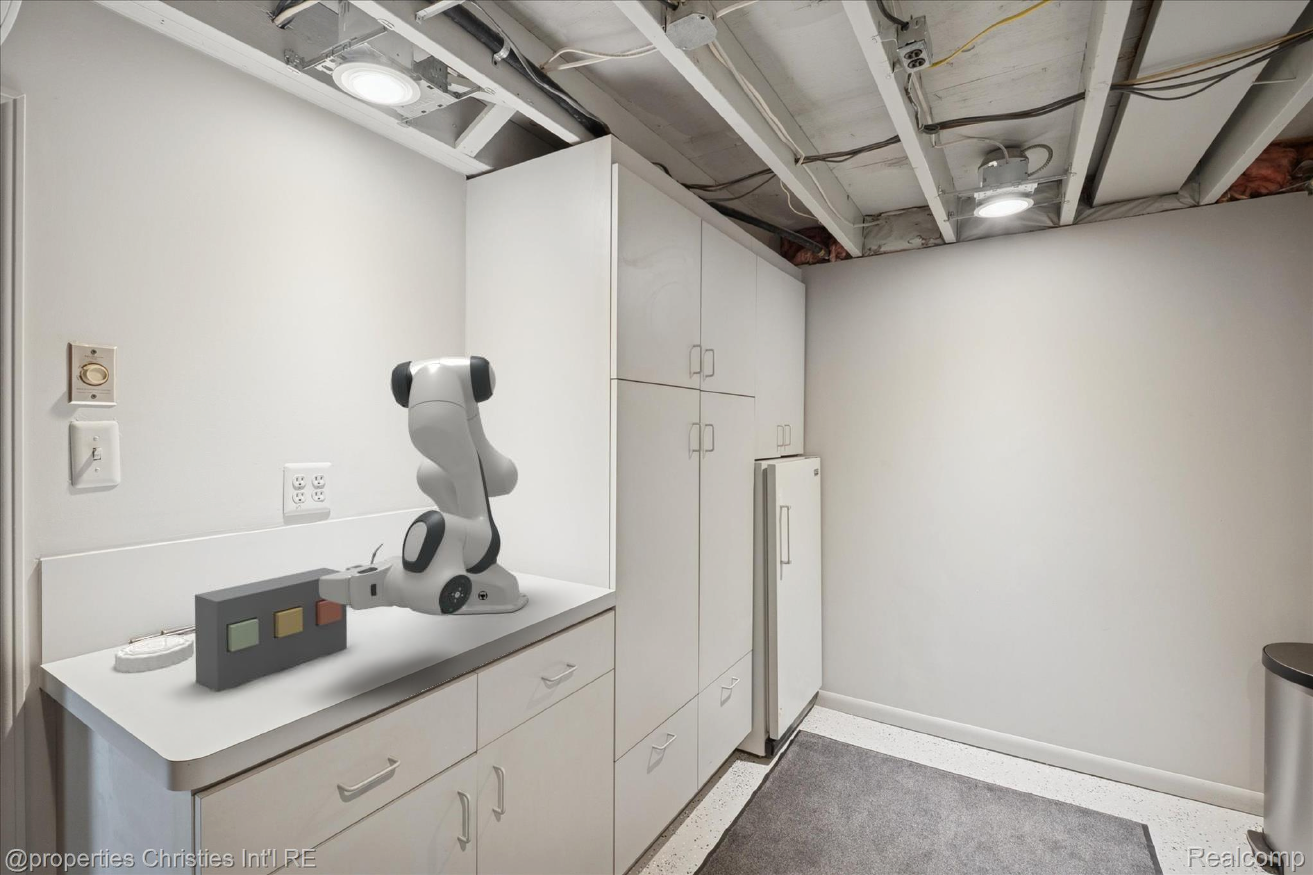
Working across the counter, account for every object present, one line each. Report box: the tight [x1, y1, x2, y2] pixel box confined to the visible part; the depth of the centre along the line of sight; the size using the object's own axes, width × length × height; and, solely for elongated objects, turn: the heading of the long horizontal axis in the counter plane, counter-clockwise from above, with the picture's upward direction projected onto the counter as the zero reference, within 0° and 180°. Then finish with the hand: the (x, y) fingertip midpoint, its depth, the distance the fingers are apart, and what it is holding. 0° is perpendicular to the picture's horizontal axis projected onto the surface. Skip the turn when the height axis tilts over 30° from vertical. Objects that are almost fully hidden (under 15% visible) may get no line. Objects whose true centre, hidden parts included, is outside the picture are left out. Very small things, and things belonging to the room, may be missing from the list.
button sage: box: [227, 618, 259, 651], centre depth 109 cm, size 3×4×4 cm
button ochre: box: [274, 607, 303, 638], centre depth 116 cm, size 3×4×4 cm
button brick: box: [316, 599, 342, 625], centre depth 123 cm, size 3×4×4 cm
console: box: [194, 567, 348, 693], centre depth 118 cm, size 8×24×16 cm, turn 150°
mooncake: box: [114, 634, 195, 673], centre depth 119 cm, size 12×12×4 cm
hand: (352, 570), depth 119 cm, fingers closed
